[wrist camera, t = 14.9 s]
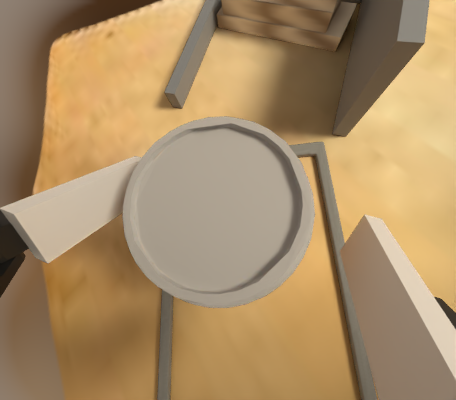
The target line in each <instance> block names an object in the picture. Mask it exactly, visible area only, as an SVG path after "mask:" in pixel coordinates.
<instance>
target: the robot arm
mask: <svg viewBox="0 0 456 400" xmlns="http://www.w3.org/2000/svg"><path fill="white" fill-rule="evenodd" d="M140 160H141V157H137V156H134V157H131V158H129V159H126V160H124V161H121V162H118V163H116V164H113V165H111V166H108V167H105V168H103V169H100V170H98V171H95V172H92V173H90V174H87V175H85V176H82V177H79V178H77V179H74V180H72V181H69V182H66V183H64V184H61V185H59V186H56V187H53V188H51V189H48V190H46V191H43V192H40V193H38V194H35V195H33V196H30V197H27V198H25V199H22V200H20V201H17V202H15V203H12V204H9V205H7V206H4V207H1V208H0V297H1V295H2V294H3V293H4V291H5V289H6V288H7V286H8V285H9V283H10V281H11V280H12V278H13V277H14V275H15V274H16V272H17V270H18V269H19V267H20V266H21V264H22V262H23V261H24V259H25V254H24V253H23V252H24V251H25V250H27V249H30V251H31V252H32V253H33V255H34V256H35V258H37V259H39V260H41V261H43V262H46V263H50V262H51V261H53V260H54V259H55V258H57V257H58V256H60V255H61V254H63V253H64V252H66V251H67V250H69V249H70V248H72V247H73V246H75V245H76V244H78V243H79V242H80V241H82V240H83V239H85V238H86V237H88V236H89V235H91V234H92V233H94V232H95V231H97V230H98V229H100V228H101V227H102V226H104V225H105V224H107V223H108V222H110V221H111V220H113V219H114V218H116V217H117V216H119V215H120V214H122V213H123V204H124V198H125V193H126V189H127V186H128V184H129V181H130V178H131V175H132V173H133V171H134V170H135V168H136V166H137V165H138V163H139V161H140ZM340 255H341V258H342V262H343V266H344V270H345V274H346V277H347V281H348V285H349V289H350V292H351V296H352V300H353V304H354V308H355V311H356V315H357V319H358V323H359V326H360V330H361V334H362V338H363V341H364V345H365V349H366V353H367V357H368V360H369V364H370V368H371V372H372V375H373V379H374V383H375V387H376V391H377V394H378V398H379V400H456V313H455V312H454V311H453V310H452V309H451V308H450V307H449V306H448V305H447V304H446V303H445V302H444V301H443V300H442V299H440V298H437V297H434V296H433V295H432V293H431V292H430V290H429V289H428V287H427V286H426V284H425V283H424V281H423V280H422V278H421V277H420V275H419V274H418V272H417V271H416V269H415V268H414V266H413V265H412V264H411V262H410V261H409V259H408V258H407V256H406V255H405V253H404V252H403V250H402V249H401V247H400V246H399V244H398V243H397V241H396V240H395V238H394V237H393V235H392V234H391V232H390V231H389V229H388V228H387V226H386V225H385V223H384V222H383V220H382V219H380V218H376V217H372V216H369V215H365V214H364V216H363V217H362V219H361V220H360V222H359V223H358V225H357V226H356V228H355V229H354V231H353V232H352V234H351V235H350V237H349V238H348V240H347V241H346V243H345V244H344V246H343V247H342V249H341V250H340Z"/></svg>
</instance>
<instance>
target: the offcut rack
mask: <svg viewBox="0 0 456 400" xmlns="http://www.w3.org/2000/svg"><path fill="white" fill-rule="evenodd" d="M342 2H349V3H361V4H360V9H359V13H358V18H357V22H356V27H355V32H354V36H353V41H352V45H351V50H350V55H349V59H348V64H347V68H346V73H345V78H344V82H343V87H342V91H341V96H340V101H339V105H338V110H337V114H336V119H335V124H334V128H333V133H332V134H334V135H340V136H347V135H348V133H349V132H350V131H351V130H352V129H353V127H354V126H355V125H356V124H357V123H358V121H359V120H360V119H361V118H362V117H363V116H364V114H365V113H366V112H367V111H368V110H369V108H370V107H371V106H372V105H373V104H374V102H375V101H376V100H377V99H378V98H379V96H380V95H381V94H382V93H383V92H384V91H385V89H386V88H387V87H388V86H389V85H390V83H391V82H392V81H393V80H394V79H395V77H396V76H397V75H398V74H399V73H400V71H401V70H402V69H403V68H404V67H405V65H406V64H407V63H408V62H409V61H410V60H411V58H412V57H413V56H414V55H415V54H416V52H417V51H418V50H419V49H420V48H421V46H422V45H423V44H424V42H425V34H426V25H427V16H428V8H429V0H342ZM221 7H222V2H221V0H206V1H205V3H204V6H203V8H202V10H201V12H200V14H199V17H198V19H197V21H196V23H195V26H194V28H193V30H192V32H191V34H190V37H189V39H188V41H187V43H186V46H185V48H184V50H183V52H182V54H181V57H180V59H179V61H178V63H177V66H176V68H175V70H174V72H173V74H172V77H171V79H170V81H169V83H168V85H167V88H166V90H165V92H164V93H165V94H166V96H167V98H168V99H169V101H170V103H171V104H172V106H173V107H177V108H183V105H184V103H185V100H186V98H187V96H188V93H189V91H190V88H191V86H192V84H193V81H194V79H195V76H196V74H197V72H198V69H199V67H200V65H201V62H202V60H203V57H204V55H205V53H206V50H207V48H208V45H209V43H210V41H211V38H212V36H213V33H214V31H215V29H216V26H217V24H218V20H217V13H218V12H219V10H220V8H221Z"/></svg>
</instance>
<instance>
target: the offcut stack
mask: <svg viewBox="0 0 456 400" xmlns="http://www.w3.org/2000/svg"><path fill="white" fill-rule="evenodd" d="M221 2H222V7H221V8H220V10H219V12H218V13H217V20H218V26H219V28H223V29H228V30H232V31H237V32H242V33H247V34H252V35H257V36H262V37H267V38H271V39H276V40H281V41H286V42H291V43H296V44H301V45H306V46H310V47H315V48H320V49H325V50H330V51H336V49H337V47H338V45H339V43H340V41H341V39H342V36H343V34H344V32H345V30H346V28H347V26H348V24H349V22H350V20H351V17H352V15H353V12H354V10H355V8H356V5H357V4H356V3H349V2H342V0H221Z"/></svg>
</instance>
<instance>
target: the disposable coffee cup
mask: <svg viewBox="0 0 456 400" xmlns="http://www.w3.org/2000/svg"><path fill="white" fill-rule="evenodd" d="M314 217H315V210H314V200H313V193H312V190H311V187H310V183H309V180H308V177H307V175H306V173H305V171H304V168H303V165H302V163H301V161H300V160H299V159H298V157H297V156H296V155H295V153H294V152H293V151H292V149H291V148H290V147H289V145H288V144H287V143H286V141H284V140H283V139H282V138H280V137H279V136H278V135H276V134H275V133H274V132H272V131H271V130H270V129H268V128H266V127H264V126H262V125H259V124H257V123H255V122H252V121H248V120H243V119H239V118H233V117H227V116H226V117H208V118H204V119H199V120H195V121H191V122H189V123H186V124H184V125H181V126H179V127H177V128H176V129H174V130H172V131H170V132H169V133H167V134H166V135H165V136H163V137H162V138H161V139H159V140H158V141H157V142H155V143H154V144H153V145H152V147H151V148H150V149H149V150H148V151H147V152H146V154H145V155H144V156H143V157H142V158H141V160H140V161H139V163H138V165H137V166H136V168H135V170H134V171H133V173H132V175H131V178H130V181H129V184H128V186H127V189H126V193H125V198H124V204H123V225H124V234H125V238H126V241H127V244H128V247H129V250H130V252H131V254H132V256H133V258H134V260H135V262H136V264H137V265H138V266H139V268H140V269H141V270H142V272H143V273H144V274H145V276H146V277H147V278H149V279H150V280H151V281H152V282H153V283H154V284H155V285H156V286H158V287H159V288H161V289H162V290H164V291H166V292H167V293H169V294H171V295H172V296H174V297H176V298H179V299H181V300H183V301H185V302H188V303H191V304H194V305H198V306H203V307H208V308H230V307H235V306H240V305H245V304H248V303H250V302H253V301H255V300H257V299H260V298H262V297H264V296H266V295H268V294H269V293H271V292H272V291H273V290H275V289H276V288H278V287H279V286H280V285H281V284H282V283H283V282H284V281H285V280H286V279H287V278H288V277H289V276H290V275H291V274H292V273H293V272H294V271H295V269H296V268H297V266H298V265H299V263H300V262H301V260H302V259H303V257H304V255H305V252H306V250H307V248H308V245H309V243H310V240H311V237H312V230H313V224H314Z"/></svg>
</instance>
